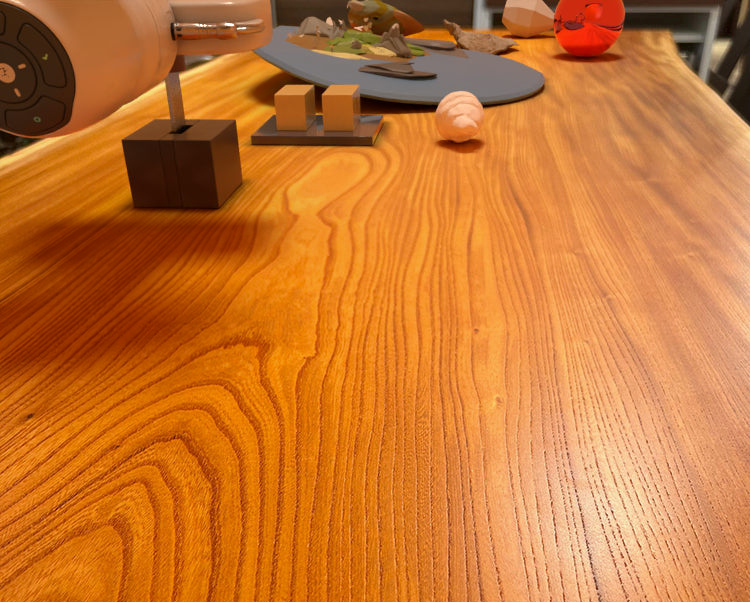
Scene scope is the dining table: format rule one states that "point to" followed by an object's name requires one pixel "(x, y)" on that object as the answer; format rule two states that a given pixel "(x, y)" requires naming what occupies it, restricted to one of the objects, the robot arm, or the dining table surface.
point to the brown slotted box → (183, 164)
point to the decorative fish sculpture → (381, 18)
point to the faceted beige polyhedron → (527, 17)
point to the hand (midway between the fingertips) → (165, 12)
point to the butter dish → (318, 118)
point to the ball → (588, 25)
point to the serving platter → (395, 64)
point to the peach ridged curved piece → (459, 116)
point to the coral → (478, 40)
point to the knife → (176, 95)
